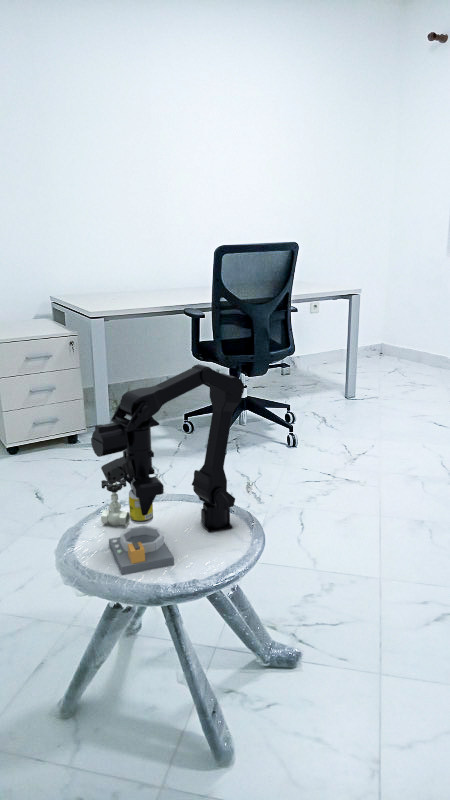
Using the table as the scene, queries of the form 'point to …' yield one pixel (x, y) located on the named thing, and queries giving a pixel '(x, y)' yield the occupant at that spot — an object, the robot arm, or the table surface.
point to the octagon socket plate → (153, 546)
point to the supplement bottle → (138, 510)
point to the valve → (115, 506)
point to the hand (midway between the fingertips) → (141, 510)
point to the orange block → (136, 552)
